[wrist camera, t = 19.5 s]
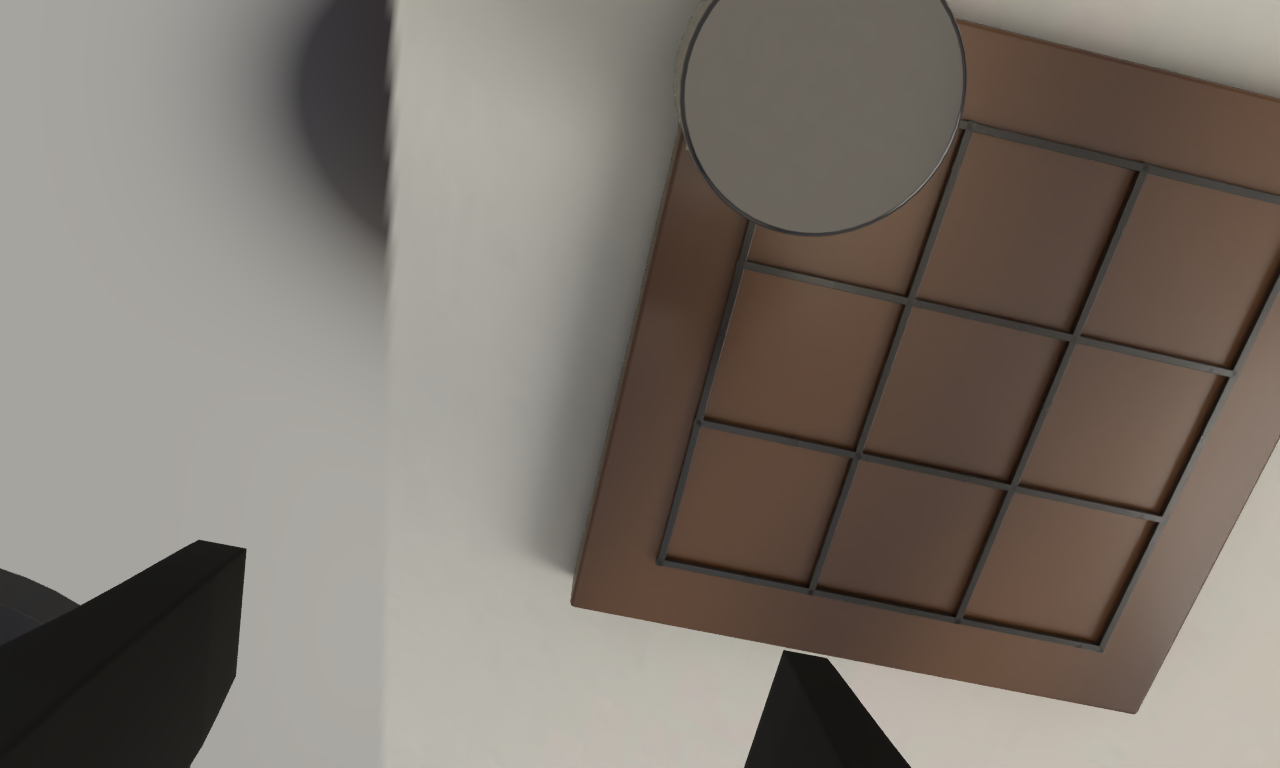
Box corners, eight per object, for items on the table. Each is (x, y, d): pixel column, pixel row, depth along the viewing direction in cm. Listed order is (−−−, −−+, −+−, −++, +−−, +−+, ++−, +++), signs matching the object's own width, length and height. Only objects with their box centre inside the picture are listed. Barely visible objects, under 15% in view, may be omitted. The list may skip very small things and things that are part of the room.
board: (572, 578, 23) (568, 612, 22) (717, -38, 18) (722, -41, 17) (1114, 683, 24) (1140, 721, 23) (1392, 130, 19) (1446, 138, 18)
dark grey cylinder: (692, 218, 18) (701, 258, 15) (656, -26, 17) (658, -33, 14) (920, 180, 18) (975, 213, 15) (905, -71, 17) (962, -90, 14)
